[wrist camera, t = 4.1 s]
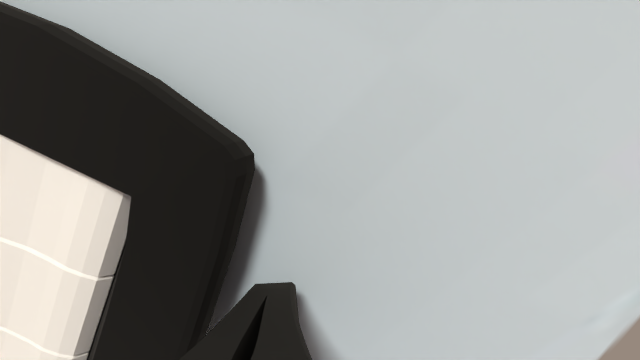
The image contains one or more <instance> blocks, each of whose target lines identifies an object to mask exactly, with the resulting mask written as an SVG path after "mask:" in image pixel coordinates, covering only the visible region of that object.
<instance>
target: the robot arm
mask: <svg viewBox="0 0 640 360" xmlns="http://www.w3.org/2000/svg"><path fill="white" fill-rule="evenodd" d="M179 360H312V358H311V355H310V353H309V350H308V348H307V345H306V343H305V340H304V337H303V334H302V331H301V328H300V324H299V318H298V308H297V297H296V287H295V285H294V284H293V283H292V282H287V283H267V284H255V285H254V286H253V287H252V288H251V289H250V290H249V291H248V292H247V293H246V294H245V296H244V297H243V298H242V299H241V300H240V301H239V302H238V303H237V304H236V305H235V307H234V308H233V309H232V310H231V311H230V312H229V313H228V314H227V315H226V316H225V317H224V318H223V319H222V320H221V321H220V322H219V323H218V324H217V325H216V326H215V327H214V328H213V329H212V330H211V331H210V332H209V333H208V334H207V335H206V336H205V337H204V338H203V339H202V340H201V341H200V342H199V343H197V344H196V345H195V346H194V347H193V348H192V349H191V350H190V351H189V352H187V353H186V354H185V355H184V356H183V357H181V358H180V359H179Z"/></svg>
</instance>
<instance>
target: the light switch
mask: <svg viewBox="0 0 640 360" xmlns="http://www.w3.org/2000/svg"><path fill="white" fill-rule="evenodd" d="M254 171H255V164H254V153H253V152H252V151H251V149H250V148H249V147H248V146H247V144H246V143H245V142H244V141H243V140H242V139H241V138H239V137H238V136H237V135H235V134H234V133H232V132H231V131H230V130H228V129H227V128H226V127H224V126H223V125H221V124H220V123H219V122H217V121H216V120H215V119H213V118H212V117H210V116H209V115H208V114H206V113H205V112H204V111H202V110H201V109H199V108H198V107H197V106H195V105H194V104H193V103H191V102H190V101H188V100H187V99H186V98H184V97H183V96H182V95H180V94H179V93H177V92H176V91H175V90H173V89H172V88H171V87H169V86H168V85H166V84H165V83H164V82H162V81H161V80H159V79H158V78H156V77H154V76H152V75H150V74H149V73H147V72H145V71H143V70H142V69H140V68H138V67H136V66H135V65H133V64H131V63H129V62H128V61H126V60H124V59H122V58H120V57H119V56H117V55H115V54H113V53H112V52H110V51H108V50H106V49H105V48H103V47H101V46H99V45H97V44H96V43H94V42H92V41H90V40H89V39H87V38H85V37H83V36H82V35H80V34H78V33H76V32H75V31H73V30H71V29H69V28H66V27H64V26H61V25H59V24H56V23H54V22H51V21H49V20H46V19H44V18H41V17H38V16H36V15H33V14H31V13H28V12H26V11H23V10H21V9H18V8H15V7H13V6H10V5H8V4H5V3H3V2H0V360H179V359H180V358H181V357H183V356H184V355H185V354H186V353H187V352H189V351H190V350H191V349H192V348H193V347H194V346H195V345H196V344H197V343H199V342H200V341H201V340H202V339H203V338H204V336H205V333H206V331H207V328H208V326H209V323H210V320H211V317H212V314H213V311H214V307H215V304H216V301H217V298H218V295H219V292H220V289H221V286H222V283H223V280H224V277H225V274H226V271H227V268H228V265H229V262H230V259H231V256H232V253H233V250H234V247H235V244H236V240H237V236H238V232H239V228H240V224H241V221H242V217H243V213H244V209H245V205H246V201H247V198H248V194H249V190H250V186H251V182H252V178H253V175H254Z"/></svg>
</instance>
